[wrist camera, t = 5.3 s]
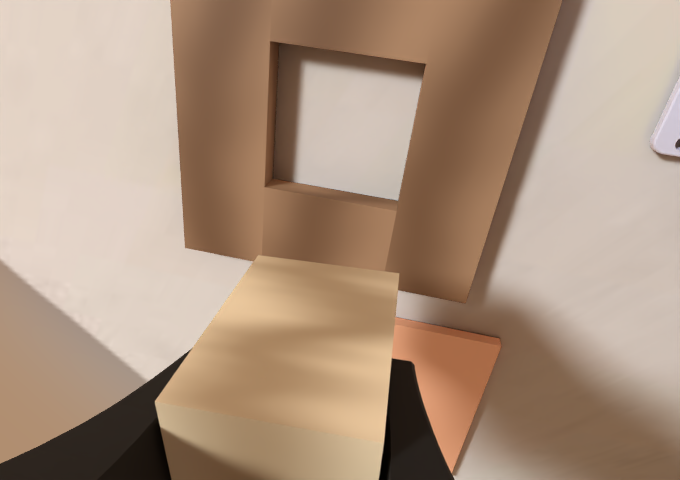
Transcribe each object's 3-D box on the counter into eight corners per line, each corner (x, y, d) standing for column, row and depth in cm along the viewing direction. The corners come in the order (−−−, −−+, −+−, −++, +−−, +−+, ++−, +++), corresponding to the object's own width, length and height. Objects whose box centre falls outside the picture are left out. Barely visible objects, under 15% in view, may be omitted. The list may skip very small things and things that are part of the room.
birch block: (399, 273, 13) (383, 443, 8) (385, 381, 15) (365, 573, 10) (257, 255, 14) (154, 401, 8) (263, 361, 16) (182, 532, 10)
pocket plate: (568, -48, 15) (579, -54, 13) (463, 289, 21) (465, 303, 20) (181, -93, 16) (164, -101, 15) (196, 237, 22) (184, 247, 21)
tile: (499, 338, 22) (501, 346, 21) (448, 470, 27) (449, 479, 27) (294, 296, 23) (290, 302, 23) (282, 431, 28) (279, 438, 28)
